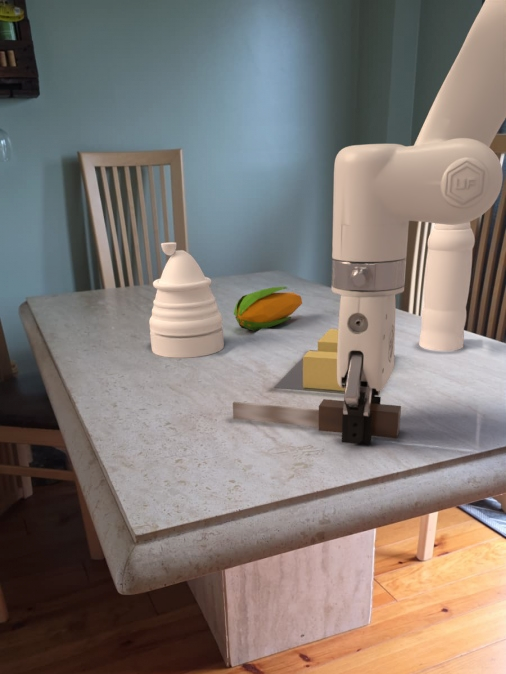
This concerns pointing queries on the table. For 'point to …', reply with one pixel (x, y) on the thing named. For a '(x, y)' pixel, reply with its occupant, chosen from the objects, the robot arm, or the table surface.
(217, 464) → the table surface
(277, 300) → the corn
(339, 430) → the knife
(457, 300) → the water bottle
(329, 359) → the block
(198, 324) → the honey pot
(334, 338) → the butter block
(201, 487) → the table surface
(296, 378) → the butter dish
